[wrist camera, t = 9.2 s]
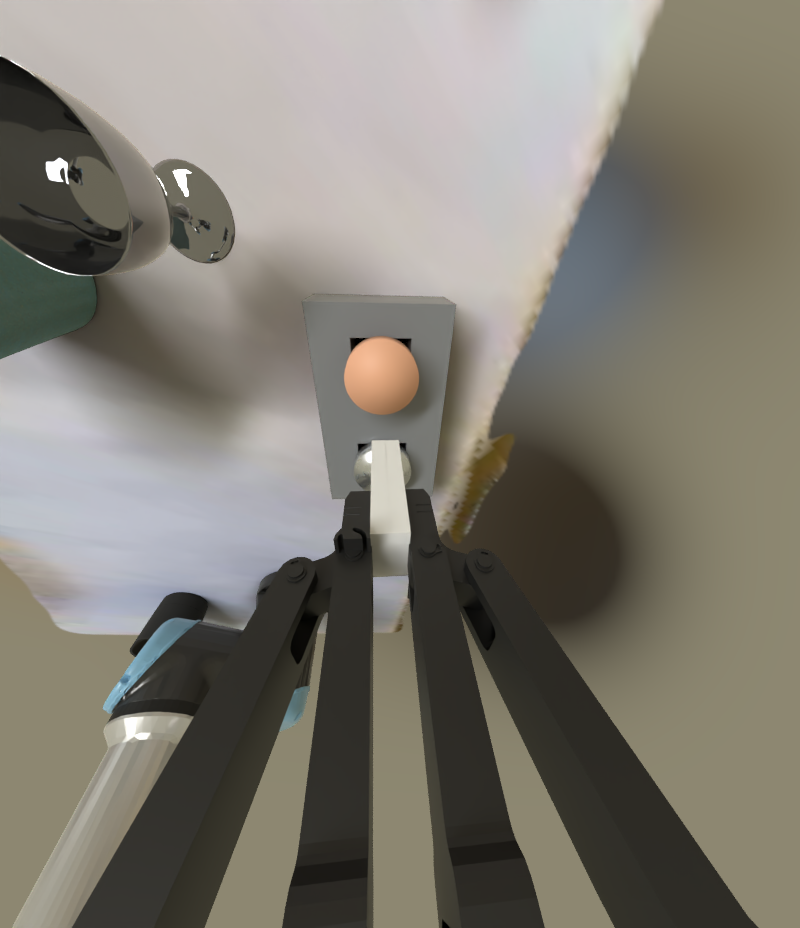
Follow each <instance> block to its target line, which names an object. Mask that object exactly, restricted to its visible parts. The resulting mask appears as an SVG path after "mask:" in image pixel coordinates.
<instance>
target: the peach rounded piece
mask: <svg viewBox="0 0 800 928" xmlns="http://www.w3.org/2000/svg"><path fill="white" fill-rule="evenodd" d="M344 383H345V387H346V391H347V393H348V395H349V397H350V398H351V399H352V401H353V402H354V403H355V404H356V405H357V406H358V407H360V408H361V409H363V410H364V411H367V412H369V413H372V414H378V415H386V414H392V413H395V412H397V411H400V410H401V409H403V408H404V407H406V406H407V405H408V404H409V403H410V402H411V400H412V399H413V398H414V396H415V394H416V392H417V389H418V385H419V372H418V368H417V365H416V362H415V360H414V357H413V355H412V353H411V352H410V350H409V349H408V348H407V347H406V346H405V345H404V344H403V343H401V342H400V341H398V340H396V339H394V338H391V337H387V336H374V337H370V338H367V339H365V340H363V341H362V342H360V343H359V344H358V345H357V346H356V347H355V348H354V349H353V350H352V352H351V353H350V355H349V357H348V360H347V364H346V368H345V372H344Z"/></svg>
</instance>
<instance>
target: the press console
mask: <svg viewBox="0 0 800 928" xmlns="http://www.w3.org/2000/svg"><path fill="white" fill-rule="evenodd" d="M302 305H303V312H304V318H305V325H306V331H307V338H308V344H309V351H310V357H311V364H312V370H313V377H314V383H315V390H316V396H317V403H318V409H319V416H320V422H321V429H322V435H323V442H324V448H325V455H326V461H327V468H328V474H329V481H330V487H331V494H332V499H346V497H347V496H348V494H349V493H350V491H366V490H364V489H363V488H362V487H360V486H359V485H358V483H357V482H356V480H355V477H354V465H355V458H356V455H357V453H358V451H359V450H360V449H361V444H363V443H370V442H372V440H399V443H402V447H403V448H404V449H405V450H406V452H407V453H408V456H409V460H410V466H411V476H410V479H409V481H408V483H407V484H406V485H405V489H424V490H425V491H426V492H427V493H428V495H429V496H432V493H433V485H434V477H435V469H436V461H437V453H438V445H439V437H440V429H441V421H442V414H443V406H444V398H445V390H446V382H447V374H448V366H449V358H450V350H451V342H452V334H453V326H454V318H455V310H456V304H455V303H453V302H451V301H450V300H448V299H446V298H445V297H423V296H380V295H338V294H313V295H311V296H309V297H308V298H306V299H305V300H303V301H302ZM374 336H387V337H391V338H406V347H407V348H408V349H409V350H410V352H411V353H412V355H413V357H414V360H415V362H416V365H417V368H418V372H419V385H418V389H417V392H416V394H415V396H414V398H413V399H412V400H411V402H410V403H409V404H408V405H407V406H406V407H404V408H403V409H401V410H400V411H397V412H395V413H392V414H386V415H378V414H372V413H369V412H367V411H364V410H363V409H361V408H360V407H358V406H357V405H356V404H355V403H354V402H353V401H352V399H351V398H350V397H349V395H348V393H347V391H346V387H345V383H344V372H345V368H346V364H347V360H348V357H349V355H350V353H351V352H352V350H353V349H354V348H355V340H354V338H370V337H374Z"/></svg>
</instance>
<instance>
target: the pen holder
mask: <svg viewBox="0 0 800 928" xmlns="http://www.w3.org/2000/svg"><path fill="white" fill-rule="evenodd" d="M207 608H208V605H207V602H206V601H205V600H204V599H203V598H201V597H199V596H197V595H194V594H190V593H173V594H170V595H168V596H166V597H165V598H164V599H163V601H162V602H161V603H160V605H159V606H158V608H157V609H156V611H155V612H154V614H153V615H152V617H151V618H150V620H149V621H148V623H147V624H146V626H145V627H144V629H143V630H142V632H141V633H140V635H139V636H138V638H137V639H136V641H135V642H134V644H133V645H132V647H131V648H130V653H131V654H132V655H133V656H135V657H136V656H137V655H138V653H139V652H140V651H141V649H142V648H143V647H144V645H145V644H146V643H147V642H148V640H149V639H150V638H151V636H152V635H153V634H154V633H155V632H156V630H157V629H158V628H159V627H160V626H161V625H162V624H163V623H164V622H166V621H168V620H170V619H173V618H183V619H189V620H195V621H196V620H202V621H203V618H204V616H205V613H206V611H207Z"/></svg>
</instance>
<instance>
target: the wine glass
mask: <svg viewBox="0 0 800 928" xmlns="http://www.w3.org/2000/svg"><path fill="white" fill-rule="evenodd" d="M0 239H1V240H3V241H4V242H5V243H7V244H8V245H9V246H11V247H12V248H14V249H15V250H16V251H18V252H19V253H21V254H23V255H24V256H26V257H28V258H30V259H31V260H33V261H35V262H37V263H39V264H41V265H43V266H45V267H48V268H50V269H53V270H56V271H59V272H62V273H65V274H71V275H77V276H104V275H114V274H120V273H126V272H130V271H134V270H137V269H140V268H142V267H145V266H147V265H148V264H150V263H152V262H154V261H155V260H157V259H158V258H159V257H160V256H161V255H162V254H163V253H164V252H165V251H166V249H167V248H168V246H169V244H171V245H172V246H173V247H174V248H175V249H176V250H177V251H179V252H180V253H181V254H183V255H184V256H186V257H188V258H190V259H192V260H195V261H198V262H203V263H212V262H216V261H218V260H220V259H222V258H223V257H225V256H226V255H227V254H228V252H229V251H230V249H231V246H232V244H233V240H234V222H233V217H232V213H231V210H230V207H229V205H228V202H227V200H226V198H225V197H224V195H223V193H222V191H221V190H220V189H219V187H218V186H217V184H216V183H215V182H214V181H213V180H212V179H211V178H210V177H209V176H208V175H207V174H206V173H205V172H204V171H203V170H201V169H200V168H198V167H197V166H195V165H193V164H191V163H189V162H187V161H184V160H179V159H167V160H164V161H161V162H160V163H158V164H156V165H155V167H154V168H152V167H151V165H150V164H149V163H148V162H147V160H146V159H145V158H144V157H143V155H142V154H141V153H140V152H139V150H138V149H137V148H136V147H135V146H134V145H133V144H132V143H131V142H130V141H129V140H128V139H127V138H126V137H125V136H124V135H123V134H122V133H121V132H119V131H118V130H117V129H116V128H115V127H114V126H113V125H111V124H110V123H109V122H108V121H107V120H105V119H104V118H103V117H102V116H100V115H99V114H98V113H97V112H95V111H94V110H93V109H91V108H90V107H89V106H87V105H86V104H85V103H83V102H82V101H81V100H79V99H77V98H76V97H74V96H73V95H71V94H70V93H68V92H66V91H65V90H63V89H62V88H60V87H58V86H57V85H55V84H53V83H52V82H50V81H48V80H47V79H45V78H43V77H42V76H40V75H38V74H37V73H35V72H33V71H31V70H29V69H27V68H25V67H23V66H21V65H19V64H18V63H16V62H13V61H11V60H9V59H7V58H5V57H2V56H0Z"/></svg>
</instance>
